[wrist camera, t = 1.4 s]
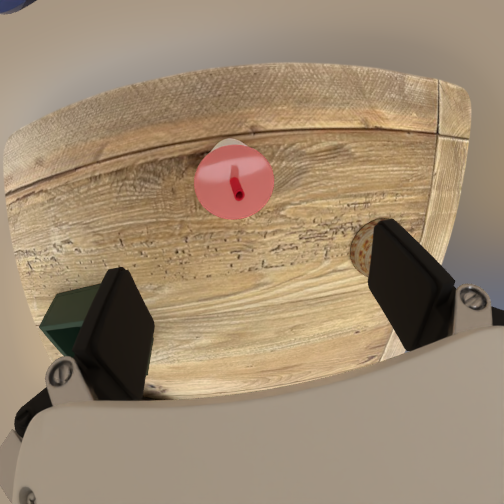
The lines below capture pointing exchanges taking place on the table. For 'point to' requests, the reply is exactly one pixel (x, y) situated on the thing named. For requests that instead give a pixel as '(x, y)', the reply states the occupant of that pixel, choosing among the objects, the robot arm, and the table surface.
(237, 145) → the cup
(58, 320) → the bin
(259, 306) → the table surface
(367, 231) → the seashell
